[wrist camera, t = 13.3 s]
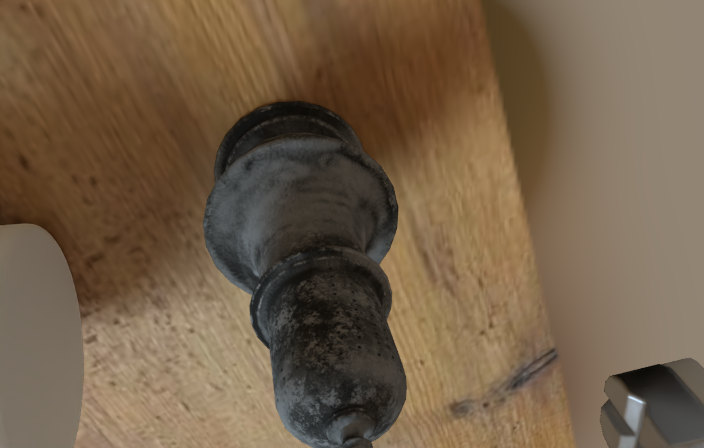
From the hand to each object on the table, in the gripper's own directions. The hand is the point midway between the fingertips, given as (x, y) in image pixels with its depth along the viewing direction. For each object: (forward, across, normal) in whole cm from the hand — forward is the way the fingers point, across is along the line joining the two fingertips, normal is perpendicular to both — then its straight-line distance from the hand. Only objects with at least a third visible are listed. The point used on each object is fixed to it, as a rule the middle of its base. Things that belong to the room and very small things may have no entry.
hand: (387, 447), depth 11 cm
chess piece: (+12, +1, +1) cm, 12 cm away
